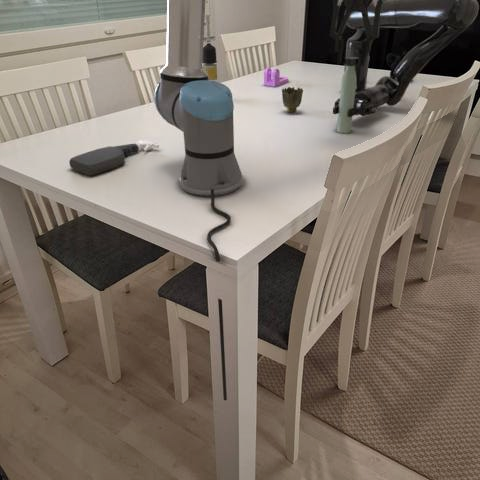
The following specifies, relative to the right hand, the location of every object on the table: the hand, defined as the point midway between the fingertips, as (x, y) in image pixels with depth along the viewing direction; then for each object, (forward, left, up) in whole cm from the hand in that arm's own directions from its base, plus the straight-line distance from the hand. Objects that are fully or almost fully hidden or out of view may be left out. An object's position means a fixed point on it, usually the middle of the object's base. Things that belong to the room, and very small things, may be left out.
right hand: (341, 112), depth 137 cm
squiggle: (-79, +20, -7) cm, 82 cm away
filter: (-31, -53, -7) cm, 62 cm away
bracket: (-62, -33, -7) cm, 71 cm away
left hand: (-2, +1, +14) cm, 14 cm away
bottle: (-2, +1, -7) cm, 7 cm away
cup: (-19, -19, -7) cm, 28 cm away
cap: (-2, +1, +15) cm, 15 cm away
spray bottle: (+36, -58, -7) cm, 69 cm away
